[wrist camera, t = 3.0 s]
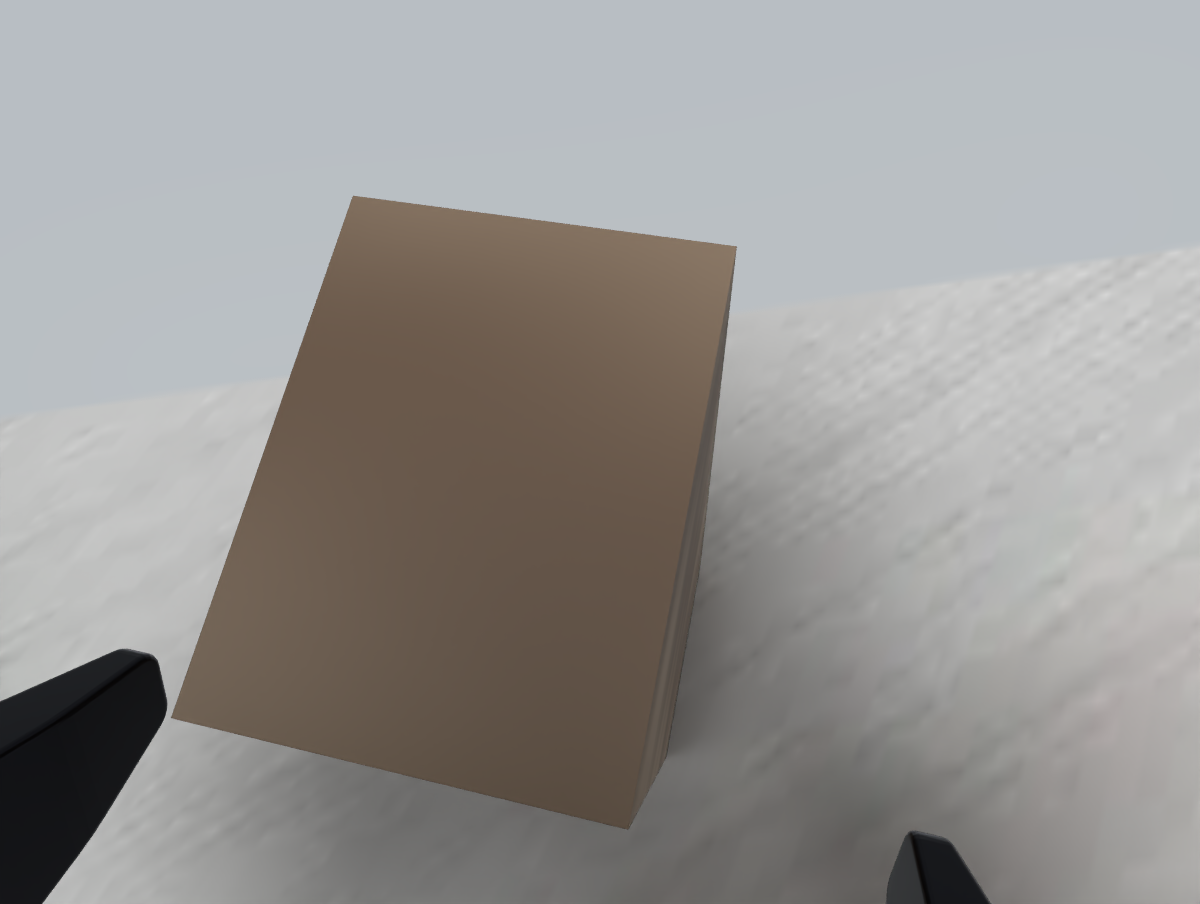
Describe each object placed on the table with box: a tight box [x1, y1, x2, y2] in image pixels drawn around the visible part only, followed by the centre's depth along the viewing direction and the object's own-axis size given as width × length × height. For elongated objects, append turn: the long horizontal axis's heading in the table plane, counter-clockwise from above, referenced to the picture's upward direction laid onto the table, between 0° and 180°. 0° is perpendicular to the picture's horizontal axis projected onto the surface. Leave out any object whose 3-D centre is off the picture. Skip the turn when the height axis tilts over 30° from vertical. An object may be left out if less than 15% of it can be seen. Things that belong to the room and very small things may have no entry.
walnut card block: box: [171, 196, 737, 829], centre depth 13 cm, size 4×3×14 cm
